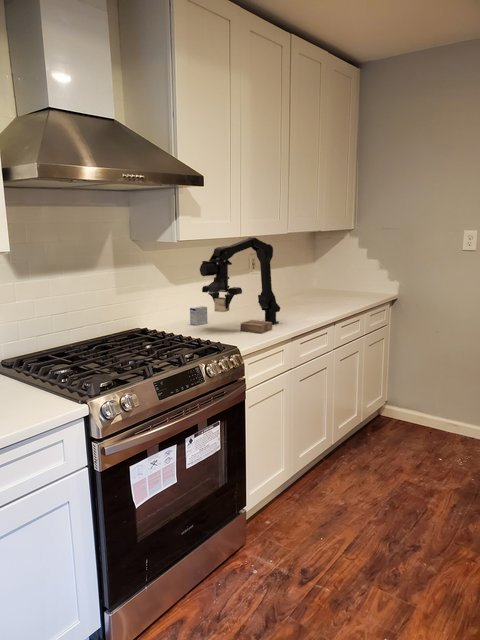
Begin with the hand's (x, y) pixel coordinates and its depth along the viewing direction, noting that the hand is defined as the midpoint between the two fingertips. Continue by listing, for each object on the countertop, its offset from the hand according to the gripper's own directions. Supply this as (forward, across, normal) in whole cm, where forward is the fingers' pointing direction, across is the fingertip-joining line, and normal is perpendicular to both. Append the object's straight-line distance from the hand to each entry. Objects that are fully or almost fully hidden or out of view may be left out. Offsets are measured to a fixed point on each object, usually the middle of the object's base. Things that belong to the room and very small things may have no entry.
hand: (221, 308), depth 239 cm
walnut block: (+11, +14, +8) cm, 20 cm away
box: (+11, -18, +7) cm, 22 cm away
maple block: (+1, 0, 0) cm, 1 cm away
